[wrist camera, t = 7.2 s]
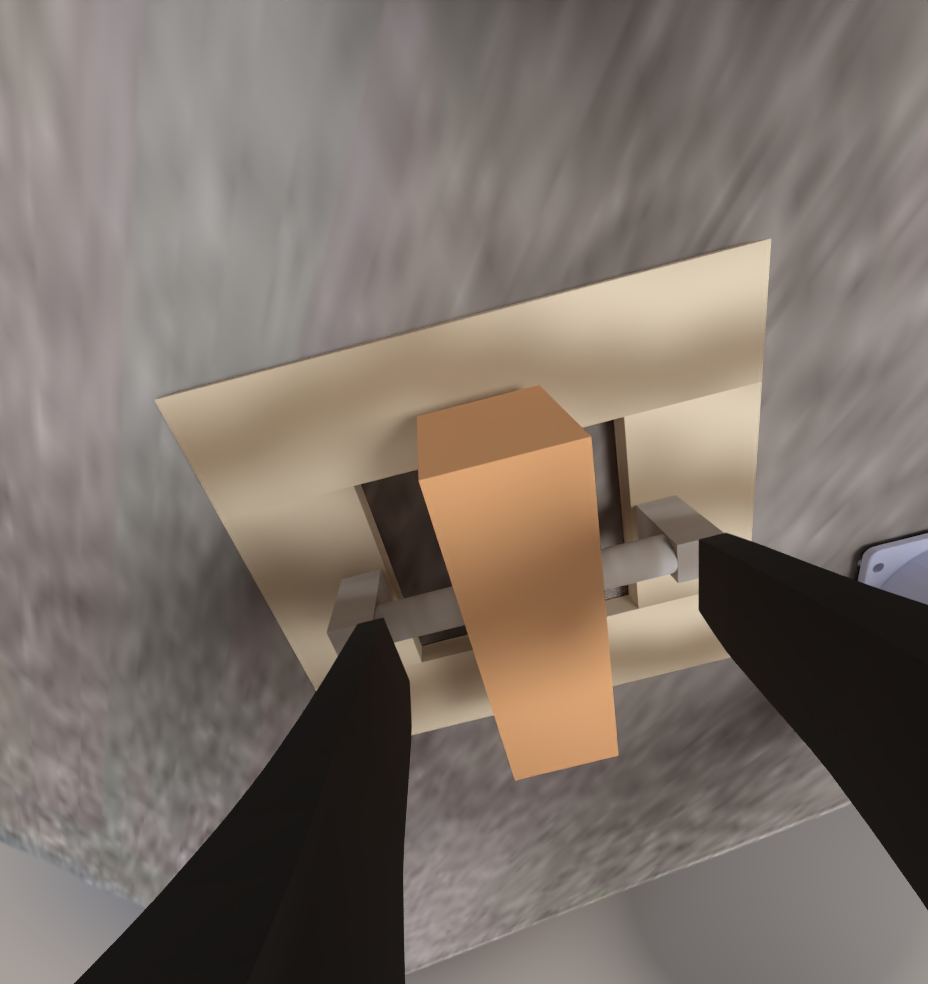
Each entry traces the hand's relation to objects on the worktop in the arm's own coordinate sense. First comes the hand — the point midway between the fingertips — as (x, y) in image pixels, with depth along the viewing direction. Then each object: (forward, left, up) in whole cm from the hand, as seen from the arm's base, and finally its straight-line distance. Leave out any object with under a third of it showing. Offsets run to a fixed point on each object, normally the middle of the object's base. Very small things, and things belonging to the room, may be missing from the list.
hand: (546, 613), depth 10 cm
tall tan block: (-3, 0, -6) cm, 7 cm away
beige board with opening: (-3, 0, -8) cm, 8 cm away
